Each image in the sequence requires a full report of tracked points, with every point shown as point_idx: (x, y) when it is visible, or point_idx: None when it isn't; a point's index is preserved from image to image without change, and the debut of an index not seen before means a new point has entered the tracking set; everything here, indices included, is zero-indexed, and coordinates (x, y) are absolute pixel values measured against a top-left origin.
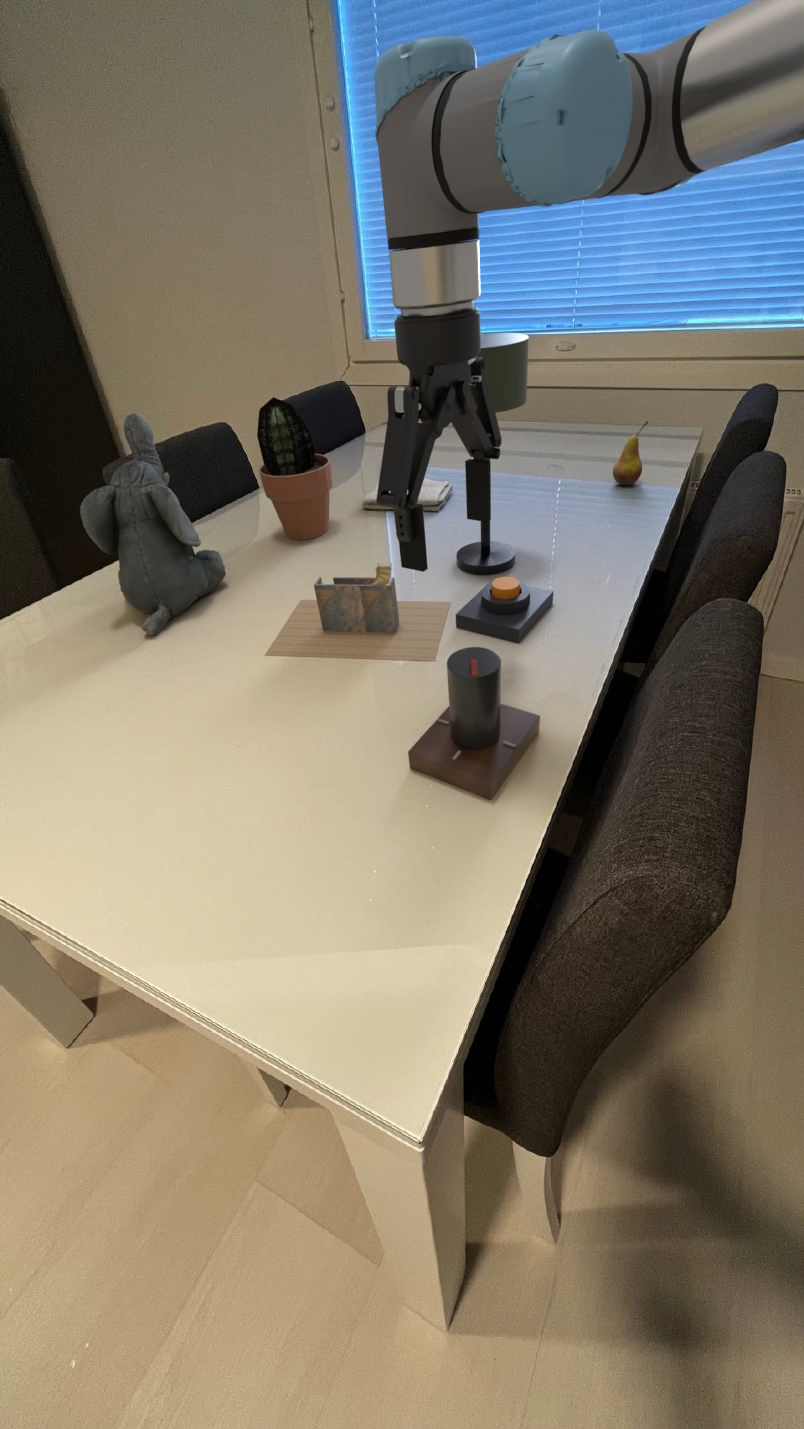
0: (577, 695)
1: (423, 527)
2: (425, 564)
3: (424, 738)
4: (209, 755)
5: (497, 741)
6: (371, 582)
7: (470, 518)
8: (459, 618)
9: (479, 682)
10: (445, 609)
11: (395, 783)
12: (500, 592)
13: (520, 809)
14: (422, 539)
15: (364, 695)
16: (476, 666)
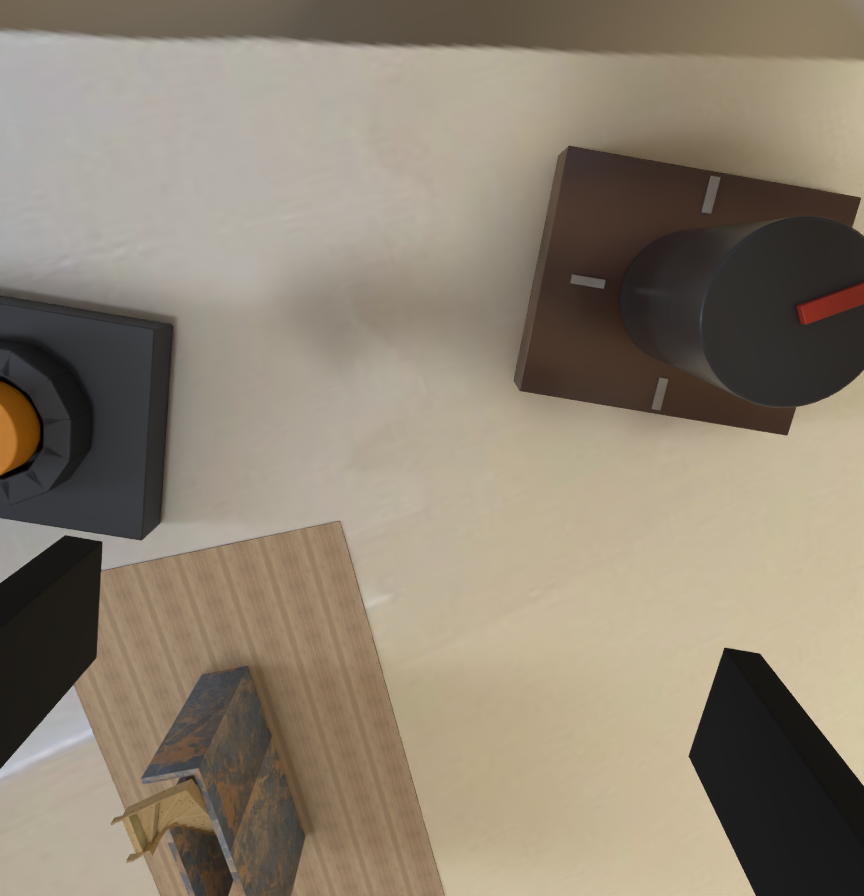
0: (369, 87)
1: (851, 814)
2: (754, 667)
3: (731, 415)
4: None
5: None
6: (178, 829)
7: (93, 642)
8: (146, 524)
9: None
10: None
11: (815, 434)
12: (23, 435)
13: (842, 125)
14: (831, 765)
15: (532, 627)
16: (845, 292)
